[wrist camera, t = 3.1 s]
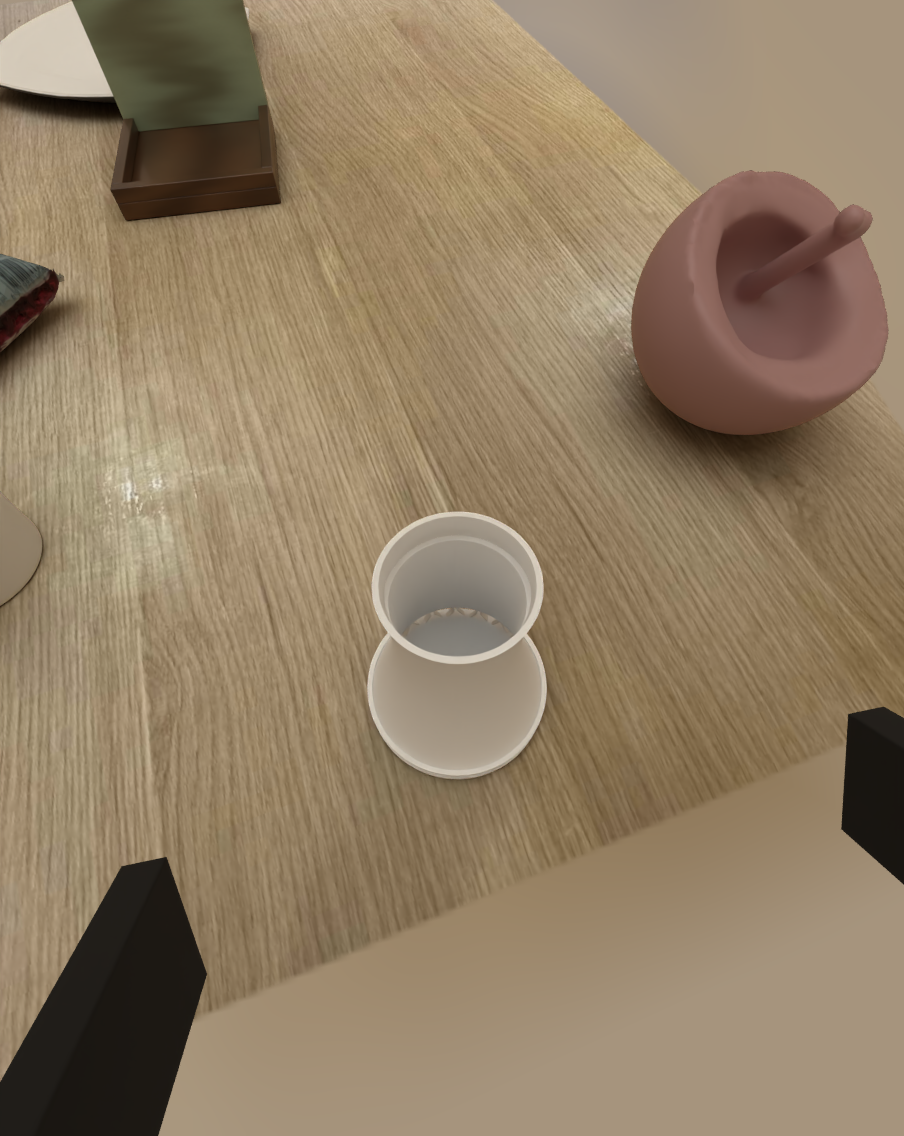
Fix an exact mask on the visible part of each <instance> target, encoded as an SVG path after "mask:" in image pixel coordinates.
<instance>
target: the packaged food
mask: <svg viewBox="0 0 904 1136" xmlns="http://www.w3.org/2000/svg"><path fill="white" fill-rule="evenodd" d="M62 281H64V276H63V275H61V274H60V273H59V275H58V274H56V273H55V271H54V269H53V271H52V270H49V269H48V268H46V267H43V266H40V265H37V264H33V263H30V262H26V261H23V260H20V259H17V258H13V257H10V256H6V255H3V254H0V352H1V351H2V350H3V349H5V348H6V347H7V346H8V345H9V344H10V343H11V342H12V341H13V340H14V339H15V338H16V337H18V336H19V335H20V334H21V333H22V332H23V331H24V330H25V329H26V328H27V327H28V326H29V325H30V324H32V323H33V322H34V321H35V320H36V318H37V317H38V316H39V315H40V314H41V312H42V311H43V310H44V309H46V307H47V306H48V305H49V303H51V302H52V301H53V299H54V298H55V295H56V292H57V290H58V285H59V282H62Z"/></svg>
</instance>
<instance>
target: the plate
mask: <svg viewBox="0 0 904 1136" xmlns="http://www.w3.org/2000/svg"><path fill="white" fill-rule="evenodd" d="M245 10H246V14H247V19H248V20H249V9H248V8H246V7H245ZM0 87H3V88H7V89H11V90H15V91H19V92H24V93H29V94H34V95H39V96H46V97H53V98H61V99H72V100H81V101H89V102H109V103H116V101H115V99H114V96H113V94H112V92H111V89H110V87H109V85H108V83H107V80H106V78H105V76H104V73H103V71H102V69H101V66H100V64H99V62H98V60H97V57H96V55H95V53H94V50H93V48H92V46H91V43H90V41H89V39H88V37H87V34H86V32H85V30H84V27H83V25H82V23H81V20H80V18H79V16H78V14H77V11H76V9H75V7H74V4H73V2H72V1H71V2H69V3H66V4H64V5H62V6H60V7H57V8H55V9H53V10H51V11H49V12H47V13H44V14H42V15H40V16H38V17H37V18H35V19H33V20H31V21H29V22H27V23H25V24H24V25H22V26H20V27H19V28H17V29H16V30H14V31H13V32H11V33H10V34H9V35H8V36H7V37H5V38H4V39H3V40H2V41H1V42H0Z"/></svg>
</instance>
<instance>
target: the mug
mask: <svg viewBox="0 0 904 1136" xmlns="http://www.w3.org/2000/svg"><path fill="white" fill-rule="evenodd" d="M41 554H42V538H41V535H40V532H39V530H38V529H37V527H36V525H35V524H34V523H33V522H32V521H31V520H30V519H29V518H28V517H27V516H26V515H25V514H24V513H23V512H21V511H20V510H19V509H18V508H17V507H16V506H15V505H14V504H13V503H12V502H11V501H10V500H9V499H8V498H7V497H6V496H5V495H3V494H2V493H1V492H0V605H2V604H4V603H5V602H7V601H8V600H9V599H11V598H12V597H13V596H14V595H15V594H17V593H18V592H19V591H20V590H21V589H22V588H23V587H24V586H25V584H26V583H27V582H28V581H29V580H30V578H31V577H32V575H33V574H34V572H35V570H36V568H37V566H38V564H39V561H40V558H41Z"/></svg>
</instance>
